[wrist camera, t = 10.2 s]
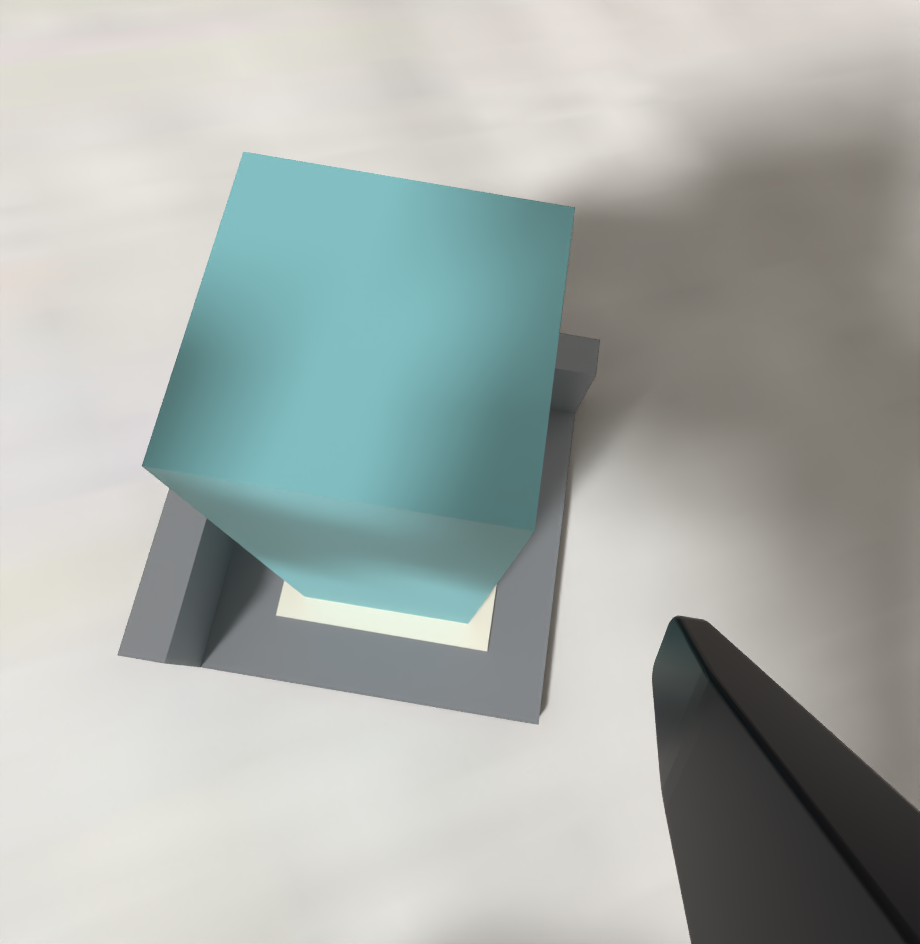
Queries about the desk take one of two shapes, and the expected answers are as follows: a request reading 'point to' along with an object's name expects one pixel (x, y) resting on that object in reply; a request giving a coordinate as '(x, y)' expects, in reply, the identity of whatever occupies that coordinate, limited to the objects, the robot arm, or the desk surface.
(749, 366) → the desk surface
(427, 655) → the tray
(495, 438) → the block
